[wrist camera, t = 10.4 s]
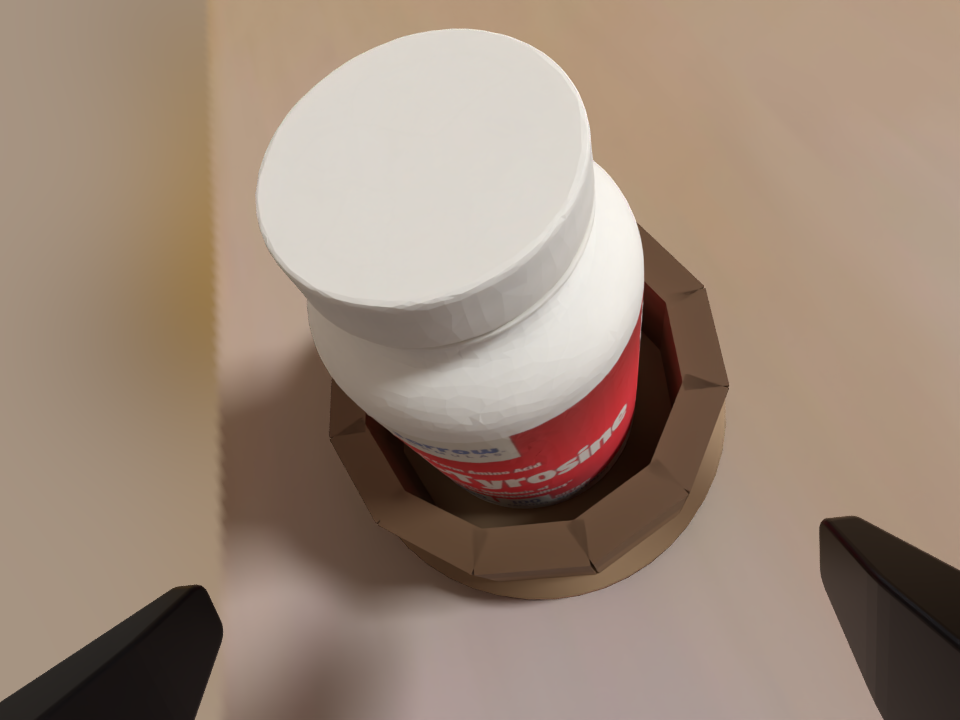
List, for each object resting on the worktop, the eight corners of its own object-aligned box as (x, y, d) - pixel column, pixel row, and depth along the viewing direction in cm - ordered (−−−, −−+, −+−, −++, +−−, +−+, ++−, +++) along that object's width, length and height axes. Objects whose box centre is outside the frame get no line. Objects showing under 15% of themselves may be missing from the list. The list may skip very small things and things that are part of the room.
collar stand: (639, 677, 15) (643, 695, 12) (311, 500, 19) (239, 474, 16) (770, 318, 18) (805, 246, 15) (461, 227, 22) (429, 153, 19)
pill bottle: (444, 532, 17) (192, 420, 7) (418, 342, 20) (206, 63, 10) (663, 486, 16) (726, 287, 6) (606, 294, 19) (587, -65, 9)
